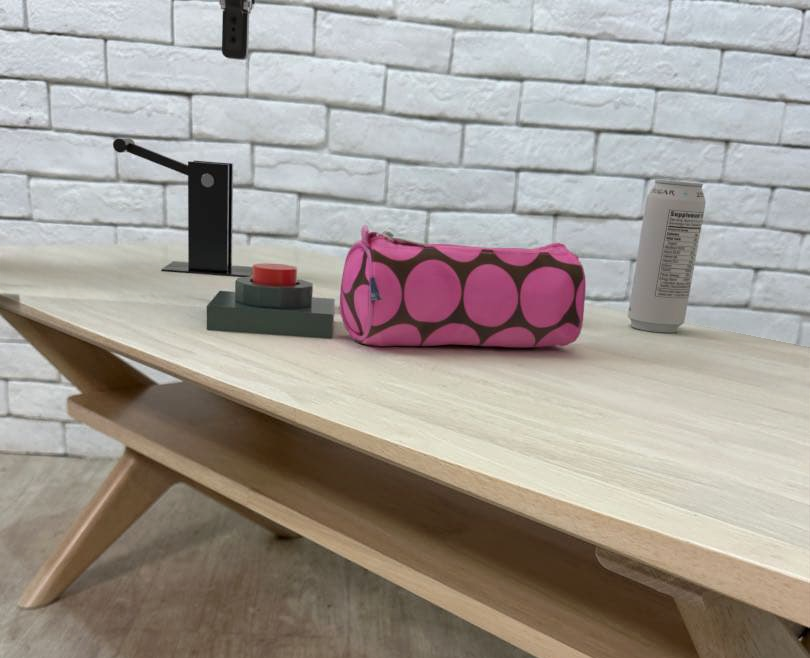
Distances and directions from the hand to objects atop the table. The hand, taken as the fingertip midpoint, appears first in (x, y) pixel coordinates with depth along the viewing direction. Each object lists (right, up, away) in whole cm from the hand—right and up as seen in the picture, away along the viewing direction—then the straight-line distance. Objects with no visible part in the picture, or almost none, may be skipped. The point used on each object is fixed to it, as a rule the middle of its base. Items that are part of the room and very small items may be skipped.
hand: (234, 58), depth 90 cm
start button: (+4, -21, 0) cm, 21 cm away
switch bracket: (-7, -13, +27) cm, 31 cm away
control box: (+3, -24, +1) cm, 24 cm away
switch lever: (-11, -2, +22) cm, 25 cm away
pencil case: (+20, -26, -1) cm, 33 cm away
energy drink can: (+42, -21, +18) cm, 51 cm away
